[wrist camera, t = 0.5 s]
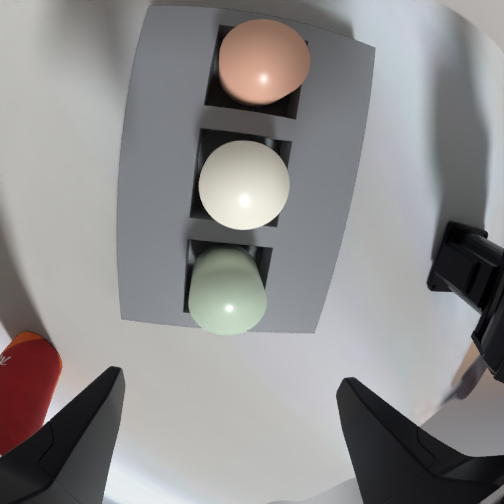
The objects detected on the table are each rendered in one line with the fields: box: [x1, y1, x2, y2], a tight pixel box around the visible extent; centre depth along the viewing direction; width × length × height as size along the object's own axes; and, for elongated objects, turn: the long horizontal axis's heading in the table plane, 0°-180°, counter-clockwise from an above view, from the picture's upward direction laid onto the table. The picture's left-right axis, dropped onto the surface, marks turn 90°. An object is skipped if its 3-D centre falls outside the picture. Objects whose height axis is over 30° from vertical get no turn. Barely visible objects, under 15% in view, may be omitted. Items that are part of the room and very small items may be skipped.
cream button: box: [199, 141, 290, 230], centre depth 14 cm, size 4×4×4 cm
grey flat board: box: [117, 6, 375, 333], centre depth 16 cm, size 13×19×2 cm
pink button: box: [218, 19, 310, 107], centre depth 12 cm, size 4×4×4 cm
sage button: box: [188, 244, 267, 336], centre depth 16 cm, size 4×4×4 cm
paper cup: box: [0, 331, 62, 457], centre depth 14 cm, size 8×8×14 cm
